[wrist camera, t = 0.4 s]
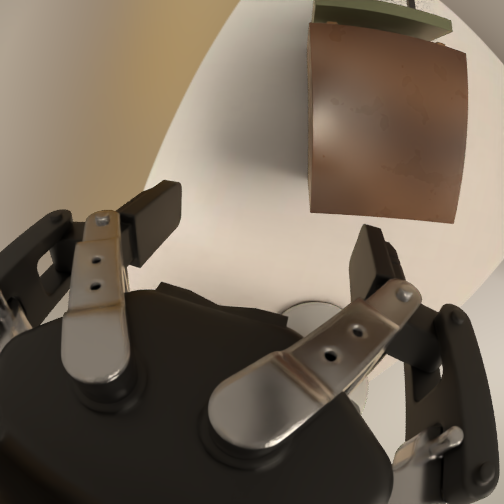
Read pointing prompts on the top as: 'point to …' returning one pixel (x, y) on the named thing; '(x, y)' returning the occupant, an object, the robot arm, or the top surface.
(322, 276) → the top surface
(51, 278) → the robot arm
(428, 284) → the top surface
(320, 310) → the chalice
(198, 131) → the top surface
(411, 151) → the cabinet
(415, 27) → the drawer
